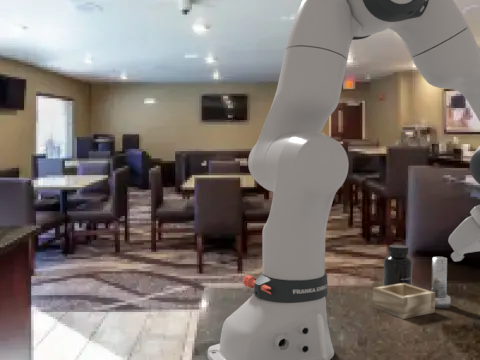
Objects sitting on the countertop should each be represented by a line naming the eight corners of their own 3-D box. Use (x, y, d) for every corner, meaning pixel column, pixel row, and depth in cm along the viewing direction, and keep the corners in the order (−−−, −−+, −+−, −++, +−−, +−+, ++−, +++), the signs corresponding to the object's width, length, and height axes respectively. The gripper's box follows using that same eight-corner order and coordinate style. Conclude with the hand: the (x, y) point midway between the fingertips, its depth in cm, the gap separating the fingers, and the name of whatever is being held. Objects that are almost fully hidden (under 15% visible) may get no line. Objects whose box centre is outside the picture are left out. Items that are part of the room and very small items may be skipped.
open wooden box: (402, 318, 110) (403, 298, 110) (372, 307, 119) (373, 287, 118) (434, 312, 114) (435, 292, 114) (403, 301, 123) (403, 282, 123)
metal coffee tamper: (439, 309, 117) (440, 261, 116) (422, 303, 121) (423, 257, 121) (455, 306, 119) (456, 258, 118) (438, 300, 123) (438, 255, 123)
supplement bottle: (407, 299, 125) (408, 249, 124) (379, 294, 129) (380, 247, 128) (415, 292, 131) (415, 245, 130) (388, 288, 134) (388, 242, 134)
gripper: (535, 201, 109) (493, 240, 119) (468, 207, 100) (428, 248, 109) (556, 225, 106) (511, 263, 115) (487, 233, 96) (445, 274, 106)
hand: (470, 256), depth 112 cm, fingers open, 8 cm apart
